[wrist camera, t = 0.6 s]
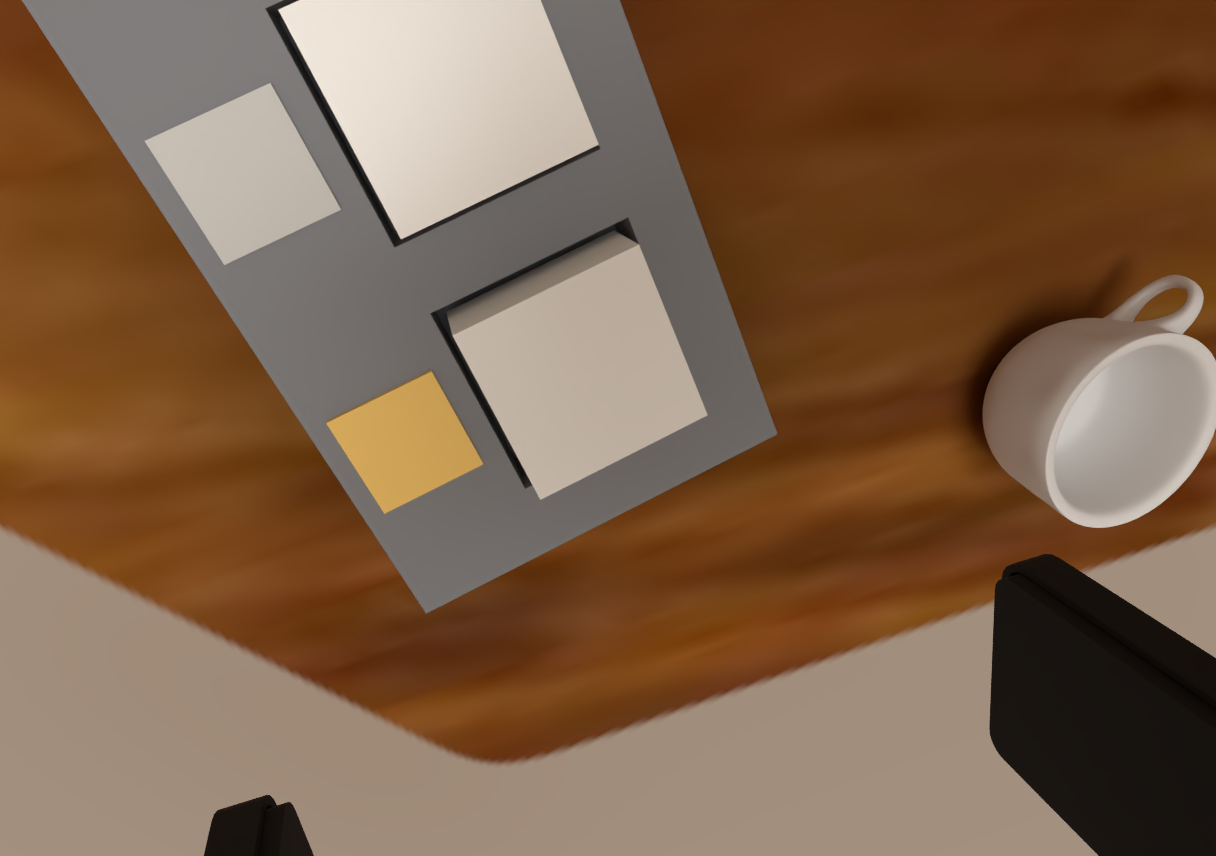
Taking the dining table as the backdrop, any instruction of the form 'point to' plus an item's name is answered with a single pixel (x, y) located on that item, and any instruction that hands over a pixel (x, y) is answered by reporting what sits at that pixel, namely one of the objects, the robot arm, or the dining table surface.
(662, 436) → the end button
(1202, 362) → the teacup
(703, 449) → the button panel
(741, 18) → the dining table surface
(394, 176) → the middle button
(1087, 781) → the robot arm
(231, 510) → the dining table surface
